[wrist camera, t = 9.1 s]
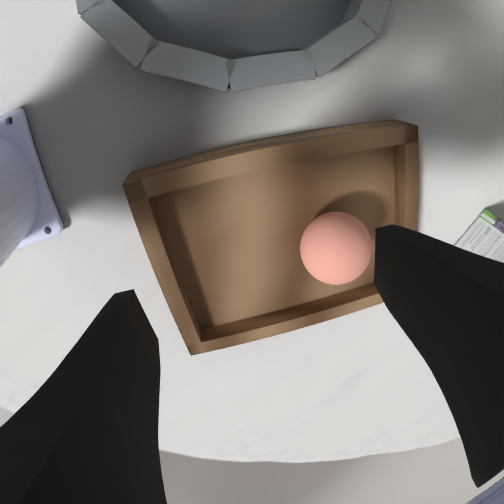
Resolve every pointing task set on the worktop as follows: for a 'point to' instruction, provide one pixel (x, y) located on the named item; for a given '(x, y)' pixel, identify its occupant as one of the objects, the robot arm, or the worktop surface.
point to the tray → (268, 226)
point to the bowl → (236, 37)
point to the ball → (336, 248)
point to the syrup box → (485, 237)
